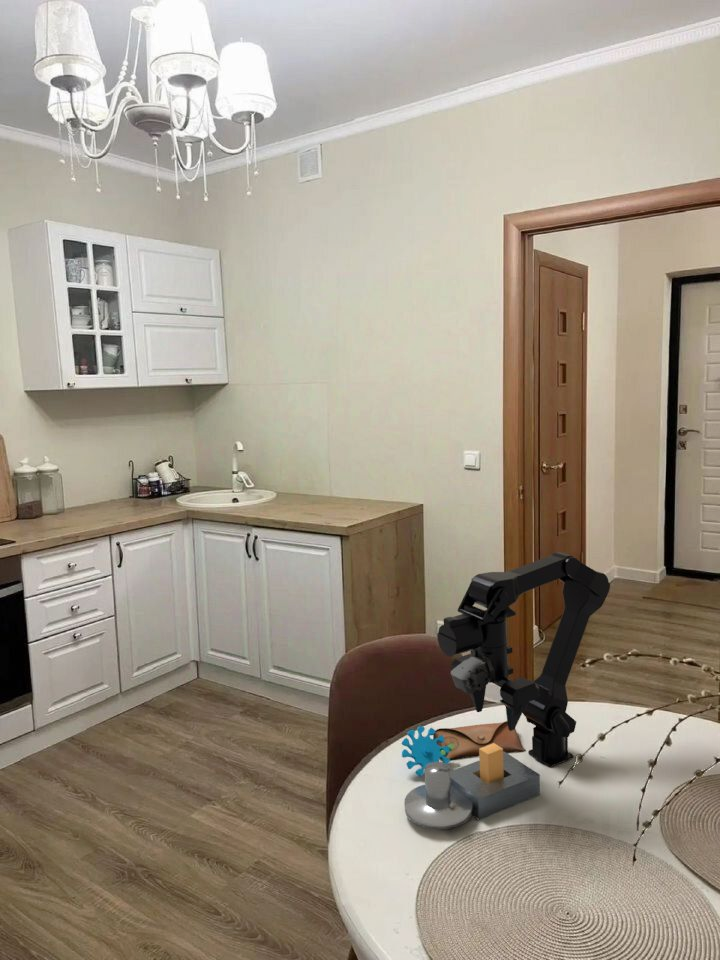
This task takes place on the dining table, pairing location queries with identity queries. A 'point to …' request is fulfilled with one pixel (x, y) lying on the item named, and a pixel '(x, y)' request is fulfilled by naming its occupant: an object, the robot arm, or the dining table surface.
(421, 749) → the gear
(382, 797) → the dining table surface
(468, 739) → the sunglasses case
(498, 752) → the tan wooden beam
